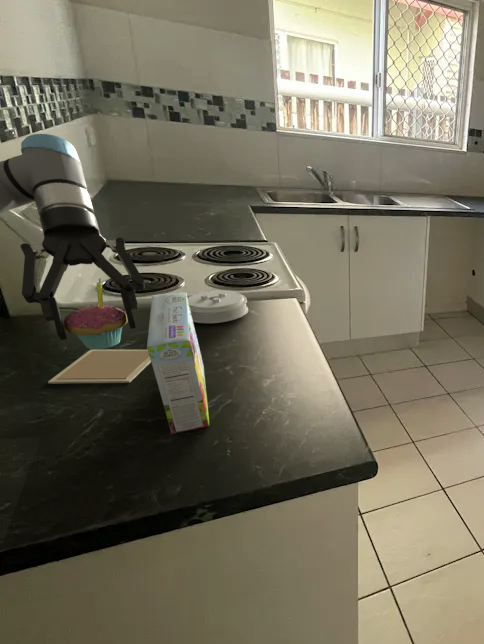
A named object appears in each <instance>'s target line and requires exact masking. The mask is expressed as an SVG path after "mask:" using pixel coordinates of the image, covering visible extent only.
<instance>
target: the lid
mask: <svg viewBox="0 0 484 644" xmlns="http://www.w3.org/2000/svg"><path fill="white" fill-rule="evenodd" d="M187 298H188V303H189V307H190V312H191V316H192V320H193V323H197V324H218V323H225V322H231V321H234V320H237V319H240V318H242V317H244V316H245V315H247V314H248V312H249V307H248V306H247V302H248V299H247V297H246V296H245V295H243V294H241V293H239V292H237V291H234V290H220V289H219V290H207V291H202V292H198V293H195V294H192V295H190V296H189V297H187Z"/></svg>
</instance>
